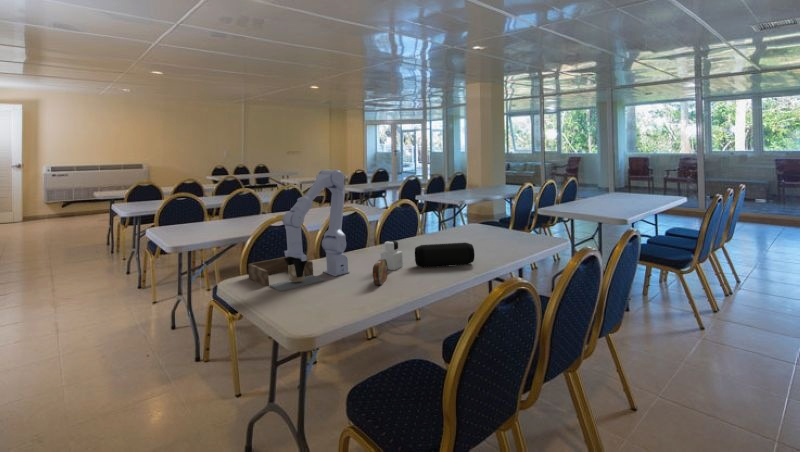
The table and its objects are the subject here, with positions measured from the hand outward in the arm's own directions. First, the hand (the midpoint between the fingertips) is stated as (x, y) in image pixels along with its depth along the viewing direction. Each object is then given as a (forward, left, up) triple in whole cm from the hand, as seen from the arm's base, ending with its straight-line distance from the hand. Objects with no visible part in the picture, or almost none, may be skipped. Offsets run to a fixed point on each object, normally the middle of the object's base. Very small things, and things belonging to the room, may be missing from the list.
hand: (296, 275), depth 173 cm
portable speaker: (-23, -61, -4) cm, 65 cm away
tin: (-22, -25, -4) cm, 33 cm away
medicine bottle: (-9, -42, -3) cm, 43 cm away
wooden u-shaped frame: (+14, 0, -3) cm, 14 cm away
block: (0, 0, -2) cm, 2 cm away
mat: (0, 0, -3) cm, 3 cm away
